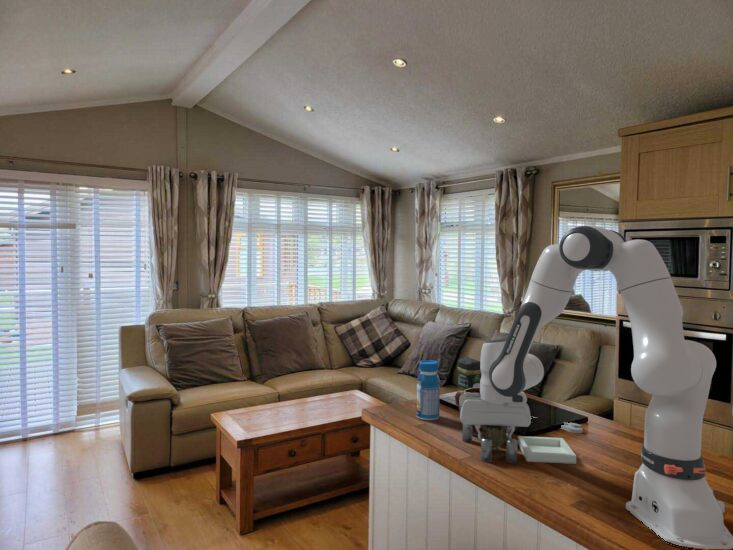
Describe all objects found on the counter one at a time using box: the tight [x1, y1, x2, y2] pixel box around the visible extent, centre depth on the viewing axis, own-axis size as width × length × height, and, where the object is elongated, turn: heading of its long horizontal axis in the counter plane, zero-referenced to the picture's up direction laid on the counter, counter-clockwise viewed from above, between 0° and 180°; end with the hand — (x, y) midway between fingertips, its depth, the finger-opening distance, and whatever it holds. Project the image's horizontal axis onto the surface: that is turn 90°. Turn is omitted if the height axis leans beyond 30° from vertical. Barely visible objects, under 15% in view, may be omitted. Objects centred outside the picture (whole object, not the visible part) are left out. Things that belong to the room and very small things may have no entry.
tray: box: [517, 435, 577, 465], centre depth 148 cm, size 13×13×2 cm
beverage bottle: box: [415, 359, 441, 421], centre depth 179 cm, size 8×8×20 cm
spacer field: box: [462, 423, 518, 464], centre depth 149 cm, size 17×15×6 cm
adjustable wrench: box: [531, 416, 584, 434], centre depth 174 cm, size 25×6×2 cm, turn 48°
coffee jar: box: [457, 356, 482, 392], centre depth 192 cm, size 10×8×19 cm
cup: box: [482, 425, 507, 452], centre depth 149 cm, size 8×7×8 cm
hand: (494, 439), depth 149 cm, fingers closed on cup, 6 cm apart
